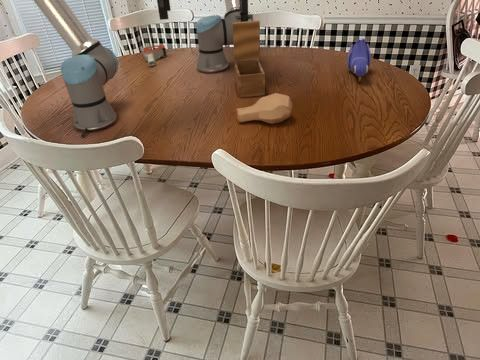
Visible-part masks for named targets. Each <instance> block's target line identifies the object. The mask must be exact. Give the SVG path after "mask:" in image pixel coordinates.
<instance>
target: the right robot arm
mask: <svg viewBox="0 0 480 360" xmlns="http://www.w3.org/2000/svg"><path fill="white" fill-rule="evenodd" d="M224 4H225V5H224V6H225V11H226V12H225V14H224V15H223V18H222V17H221V15H218V14H215V15H214V14H213V15H208V16H205V17H202V18H200V19H198V20H197V22H196V25H195V26H196V34H197V42H198V43H197V44H198V58H197V64H196V67H197V71H198V72H200V73H203V74H217V73H221V72H224V71H226V70H227V69H228V68H229V62H228V59H227V57H226V54H225V52H224V46H234V45H233V23H234V22H236V20H235V16H237V15H241V20H238V22H246V21H251V19H248V15H249V0H224Z"/></svg>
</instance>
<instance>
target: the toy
mask: <svg viewBox="0 0 480 360" xmlns="http://www.w3.org/2000/svg"><path fill="white" fill-rule="evenodd" d="M367 41H368V39H367V38H362V39H360V38H358V39H355V43H354V44H351V45H350V47H349V50H348V52H347V57H346V67H347V68H348V69H349V70H350V72H351V73H353V75H355V76H356V77H358V82H359V83H360V82H361V80H362V78H363V77H364V76H366V74H367V73H368V72H369V67H370V65H371V62H372V53H371V48H370V45H369V43H366V42H367Z"/></svg>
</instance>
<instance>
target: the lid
mask: <svg viewBox="0 0 480 360" xmlns="http://www.w3.org/2000/svg"><path fill="white" fill-rule="evenodd" d="M248 19H251V21H246V22H238V20H241V15H237V16H235V20H236V22H234V23H233V45H232V46H233V62H245V61H256V60H259V61H260V31H261V30H260V29H261V27H260V26H261V20H254V14H253V13H252V14H248Z"/></svg>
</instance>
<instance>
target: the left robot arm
mask: <svg viewBox="0 0 480 360" xmlns="http://www.w3.org/2000/svg"><path fill="white" fill-rule="evenodd" d="M32 1H33V2H34V4H35V5H36V6H37V8H38V9H39V10H40V11H41V12H42V14H43V16H45V18H46V19H47V20H48V22H49V23H50V24H51V26H52V27H53V28H54V30H55V31H56V33H58V35H59V36H60V37H61V39H62V40H63V41H64V42H65V44H66V45H67V46H68V48H69V49H70V50H71V57H68V58H66V59H64V61H62V62H61V64H60V66H59V67H60V72H61V77H62V80H63V82H64V84H65V87H66V90H67V93H68V96H69V99H70V101H71V104H72V108H73V114H72V117H73V118H72V119H73V125H74V128H75V129H76V131H78V132H82V133H81V135H80V136H81V137H83V138H84V136H85V134H86V133H92V132H99V131H102V130H105V129H107V128H110V127H111V126H113V125H115V124H116V122H117V121H118V116H117V113H116V111H115V110H114V108H113V107H112V105H111V103H110V102H109V101H108V99H107V96H106V92H105V89H104V86H105V85H106V84H107V83H109V81H110V80H112V79H113V78H115V75H116V74H117V72H118V71H119V70H118V69H119V60H118V57H117V55H116V54H115V52H114V51H113V50H111V48H109V47H106V46H104V45H103V44H102V42H100V40H98V39H96V38H93V37H92V36H91V35H90V34H89V32H88V31H87V29H86V28H85V27H84V25H83V24H82V23H81V21H80V20H79V19H78V16H77V15H76V14H75V13H74V12H73V10H72V9H71V8H70V6H69V4H68V3H67V2H66V0H32ZM156 3H157V9H158V15H159V20H160V21H162V20H169V13H168V12H171V10H172V9H171V3H170V0H156Z"/></svg>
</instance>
